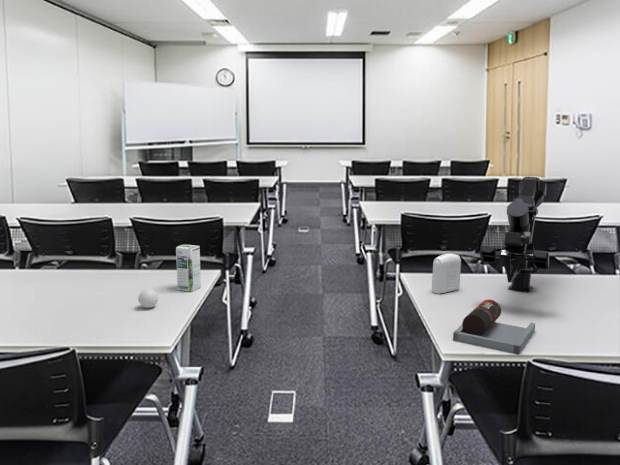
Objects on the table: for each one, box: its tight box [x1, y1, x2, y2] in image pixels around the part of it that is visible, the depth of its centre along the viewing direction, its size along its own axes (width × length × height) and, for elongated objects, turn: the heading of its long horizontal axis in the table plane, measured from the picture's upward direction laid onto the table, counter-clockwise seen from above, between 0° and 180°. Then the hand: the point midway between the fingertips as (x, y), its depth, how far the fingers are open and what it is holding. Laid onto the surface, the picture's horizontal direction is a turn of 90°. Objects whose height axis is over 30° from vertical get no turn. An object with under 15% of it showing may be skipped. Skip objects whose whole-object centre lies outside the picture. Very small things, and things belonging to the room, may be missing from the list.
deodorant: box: [461, 298, 502, 336], centre depth 146 cm, size 6×6×15 cm
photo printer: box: [431, 253, 462, 294], centre depth 179 cm, size 10×4×12 cm, turn 123°
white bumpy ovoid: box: [137, 288, 159, 309], centre depth 163 cm, size 8×6×6 cm
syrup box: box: [175, 244, 202, 292], centre depth 181 cm, size 6×6×14 cm
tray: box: [452, 321, 536, 355], centre depth 142 cm, size 18×16×2 cm
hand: (509, 281), depth 157 cm, fingers closed
